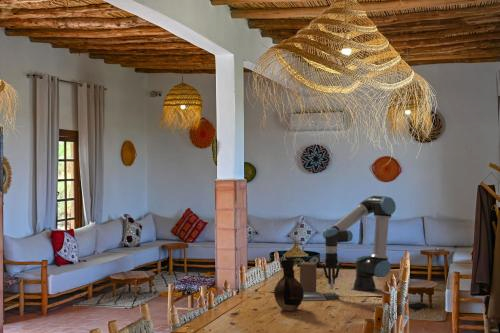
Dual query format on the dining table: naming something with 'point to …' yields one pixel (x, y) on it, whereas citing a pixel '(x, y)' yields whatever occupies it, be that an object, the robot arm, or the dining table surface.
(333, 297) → the button housing
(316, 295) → the shallow gray tray
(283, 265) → the ceramic vessel
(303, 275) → the wooden block
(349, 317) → the dining table surface
